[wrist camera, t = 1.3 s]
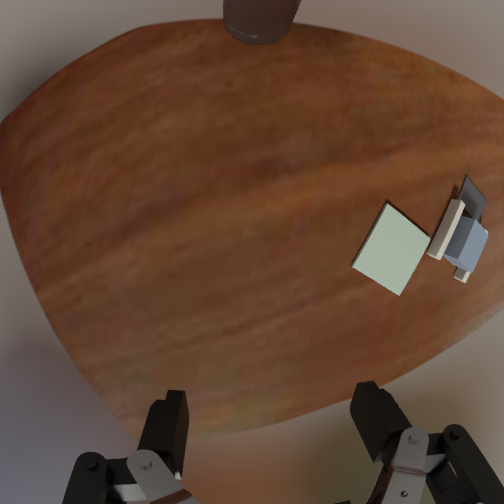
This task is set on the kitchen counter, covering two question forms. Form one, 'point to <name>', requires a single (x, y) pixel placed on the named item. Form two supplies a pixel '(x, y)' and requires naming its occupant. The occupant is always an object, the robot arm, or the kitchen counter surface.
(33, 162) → the kitchen counter surface
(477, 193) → the channel
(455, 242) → the block
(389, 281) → the tile
